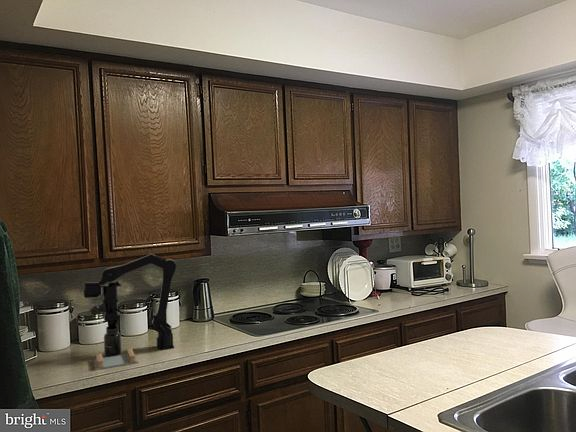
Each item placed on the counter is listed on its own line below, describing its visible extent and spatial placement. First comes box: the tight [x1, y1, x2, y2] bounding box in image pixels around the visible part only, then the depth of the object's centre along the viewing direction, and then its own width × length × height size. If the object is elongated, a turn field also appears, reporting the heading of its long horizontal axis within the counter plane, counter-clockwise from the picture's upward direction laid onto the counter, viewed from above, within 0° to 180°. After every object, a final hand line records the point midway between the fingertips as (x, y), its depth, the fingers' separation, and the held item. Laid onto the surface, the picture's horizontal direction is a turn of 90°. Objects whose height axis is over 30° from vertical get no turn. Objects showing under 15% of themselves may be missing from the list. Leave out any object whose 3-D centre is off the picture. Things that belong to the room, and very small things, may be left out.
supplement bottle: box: [103, 325, 122, 357], centre depth 202 cm, size 7×7×12 cm
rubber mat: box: [93, 353, 139, 371], centre depth 192 cm, size 16×13×1 cm
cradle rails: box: [95, 347, 136, 368], centre depth 192 cm, size 14×13×2 cm
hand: (111, 332), depth 205 cm, fingers closed
